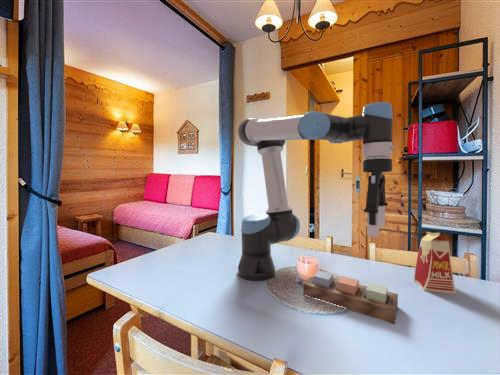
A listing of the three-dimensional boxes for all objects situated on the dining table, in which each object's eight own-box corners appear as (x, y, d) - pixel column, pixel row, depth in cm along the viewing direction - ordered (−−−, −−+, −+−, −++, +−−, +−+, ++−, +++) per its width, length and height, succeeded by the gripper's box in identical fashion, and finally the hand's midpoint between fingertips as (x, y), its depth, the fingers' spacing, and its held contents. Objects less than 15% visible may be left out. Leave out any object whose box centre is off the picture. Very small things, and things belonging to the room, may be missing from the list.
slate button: (313, 288, 80) (313, 275, 79) (318, 282, 84) (318, 270, 83) (328, 293, 77) (328, 279, 76) (333, 286, 81) (333, 274, 80)
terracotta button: (337, 295, 75) (338, 282, 75) (342, 289, 79) (342, 276, 79) (354, 300, 72) (355, 286, 72) (358, 293, 76) (358, 280, 76)
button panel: (303, 295, 79) (303, 283, 79) (314, 283, 87) (314, 273, 87) (394, 324, 64) (394, 310, 64) (397, 306, 72) (397, 294, 72)
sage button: (365, 304, 70) (366, 289, 70) (368, 296, 74) (369, 282, 74) (385, 309, 67) (385, 294, 67) (387, 301, 71) (387, 287, 71)
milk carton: (455, 293, 79) (459, 234, 78) (424, 291, 81) (427, 233, 80) (440, 281, 88) (442, 228, 87) (412, 279, 90) (414, 227, 89)
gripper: (387, 155, 57) (386, 243, 58) (395, 159, 77) (395, 224, 78) (353, 157, 61) (353, 239, 62) (370, 160, 81) (369, 222, 82)
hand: (376, 231), depth 70 cm, fingers open, 13 cm apart
